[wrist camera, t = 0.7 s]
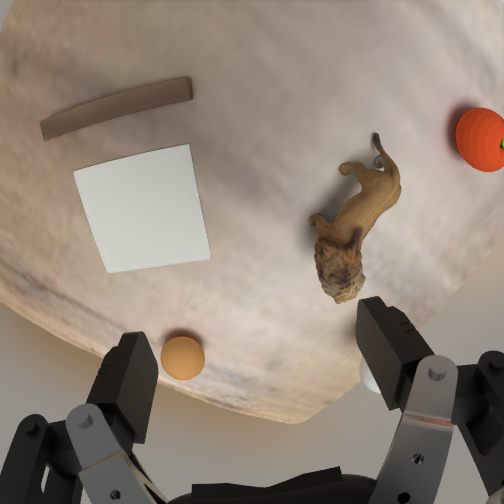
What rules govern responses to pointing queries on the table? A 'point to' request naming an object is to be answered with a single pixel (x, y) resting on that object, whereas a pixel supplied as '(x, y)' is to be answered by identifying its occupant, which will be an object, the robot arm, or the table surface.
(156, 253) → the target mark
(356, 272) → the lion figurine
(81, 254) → the table surface
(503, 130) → the tomato
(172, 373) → the ball
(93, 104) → the strip
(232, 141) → the table surface
